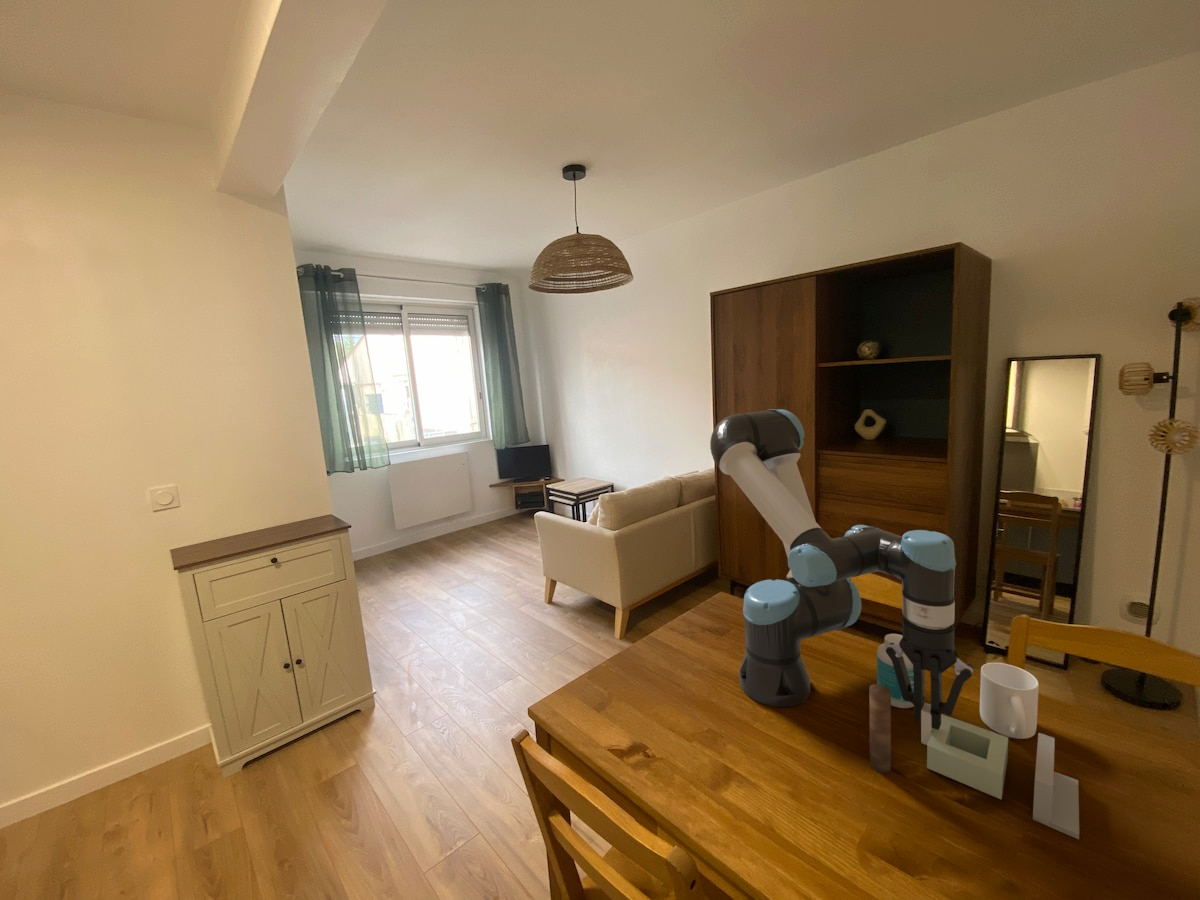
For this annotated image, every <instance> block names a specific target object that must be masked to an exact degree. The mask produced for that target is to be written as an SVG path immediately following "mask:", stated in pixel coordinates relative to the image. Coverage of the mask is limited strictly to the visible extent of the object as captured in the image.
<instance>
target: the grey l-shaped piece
mask: <svg viewBox="0 0 1200 900" xmlns="http://www.w3.org/2000/svg"><path fill="white" fill-rule="evenodd" d="M1055 739H1056V738H1055V737H1053V736H1049V735H1047V734H1044V733H1041V732H1038V734H1037V745H1036V747H1037V748H1036V759H1035V761H1036V762H1035V773H1034V789H1033V804H1032V805H1033V807H1032V820H1033V821H1035V822H1038V823H1040V824H1042V825H1045V826H1047V827H1049V828H1052V829H1054V830H1057V831H1058V832H1060V833H1063V834H1065V835H1068V836H1070V837H1071V838H1075V839H1076V840H1080V801H1079V800H1080V798H1079V780H1078V779H1076V778H1073V777H1070V776H1068V775H1064V774H1062V773H1059V772H1056V771H1054V770H1055V769H1054V768H1055V747H1056V746H1055V745H1056V744H1055V742H1056V741H1055Z"/></svg>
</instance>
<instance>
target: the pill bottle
mask: <svg viewBox="0 0 1200 900" xmlns="http://www.w3.org/2000/svg"><path fill="white" fill-rule="evenodd" d="M902 637H903V634H897V633H889V634H885V636H884V642H883V643H881V644H880V645H879V646H878V647H877V651H876V684H880V685H883V686H885V687H887V688H888V689H889V690H890V691H891V707H895V708H900V709H910V708H911V709H912V708H914V705H913V704H912V703H911V702H910V701H905V700H904V699H903V698H902V694H901V691H900V687H899V684H898V680H897V677H896V673H895V670H894V666H893V663H892V660H891V659H890V657H889V656H888V654H887V653H886V649H887V647H888V645H889V644H890V643H894V644H897V643H900V641H901V639H902ZM902 656H903V659H904V662H905V666H906V669H907V673H908V676H909V680H910V683H911V687H912V690H913V692H914V673H913V664H912V663H911V662H910V660H909V659H908V657H907V656H906V655H905V653H904V652H903V654H902Z"/></svg>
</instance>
